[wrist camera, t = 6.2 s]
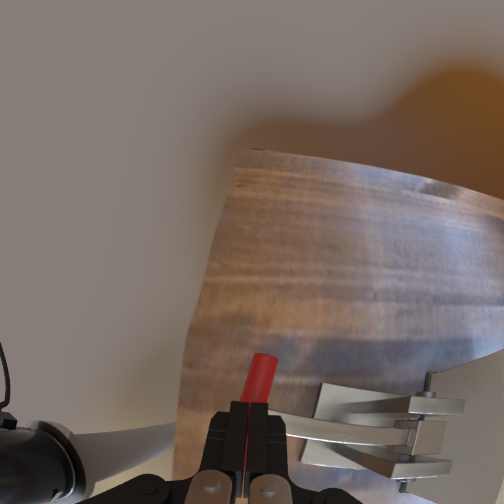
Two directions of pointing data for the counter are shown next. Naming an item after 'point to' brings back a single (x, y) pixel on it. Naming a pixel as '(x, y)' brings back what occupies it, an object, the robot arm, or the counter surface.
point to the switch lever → (397, 438)
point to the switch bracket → (379, 415)
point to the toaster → (469, 435)
